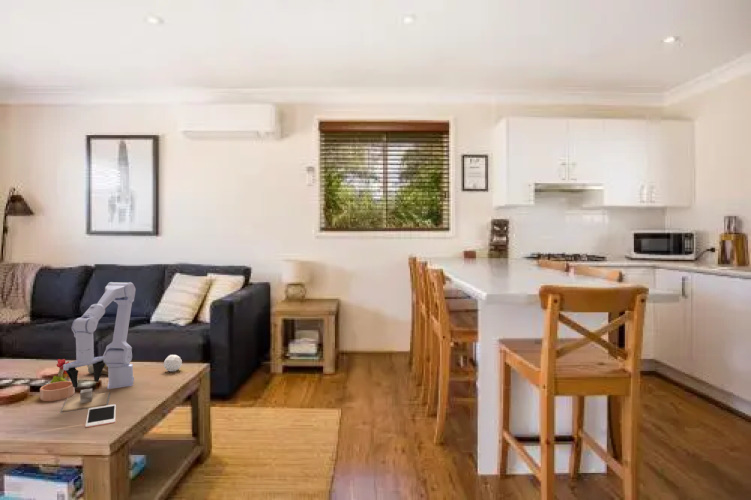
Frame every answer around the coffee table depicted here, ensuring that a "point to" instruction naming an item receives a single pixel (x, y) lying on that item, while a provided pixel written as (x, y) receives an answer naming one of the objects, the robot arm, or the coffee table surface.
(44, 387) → the terracotta bowl
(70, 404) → the oak lid
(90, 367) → the ceramic sculpture
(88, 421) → the cell phone
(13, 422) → the coffee table surface
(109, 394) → the rubber mat
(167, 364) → the geometric ball
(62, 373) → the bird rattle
